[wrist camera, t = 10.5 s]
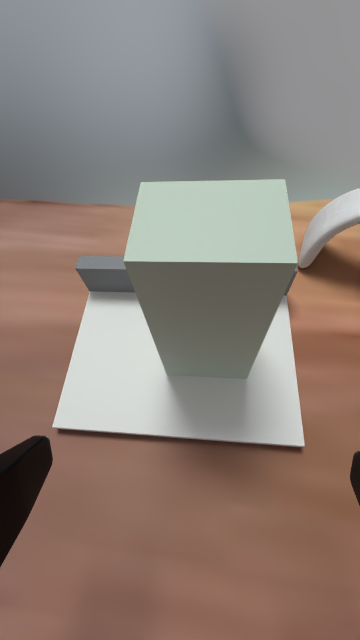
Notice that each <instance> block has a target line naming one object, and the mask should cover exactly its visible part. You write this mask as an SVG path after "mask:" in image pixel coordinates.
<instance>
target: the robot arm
mask: <svg viewBox="0 0 360 640" xmlns="http://www.w3.org/2000/svg"><path fill="white" fill-rule="evenodd" d="M52 461H53V457H52V451H51V446H50V440H49V438H48V437H47V436H33V437H31V438H29V439H27V440H25V441H23V442H22V443H20V444H18V445H16V446H14V447H13V448H11V449H9V450H7V451H5V452H3V453H2V454H0V567H1V565H2V563H3V561H4V560H5V558H6V556H7V554H8V553H9V551H10V549H11V547H12V545H13V544H14V542H15V540H16V538H17V536H18V535H19V533H20V531H21V529H22V528H23V526H24V524H25V522H26V520H27V518H28V516H29V514H30V512H31V510H32V508H33V506H34V503H35V501H36V499H37V497H38V495H39V492H40V490H41V488H42V486H43V483H44V481H45V479H46V477H47V475H48V472H49V470H50V468H51V465H52ZM350 480H351V484H352V487H353V490H354V492H355V495H356V498H357V500H358V503H359V505H360V451H357V452H355V454H354V456H353V461H352V467H351V473H350Z"/></svg>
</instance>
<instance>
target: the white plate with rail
mask: <svg viewBox="0 0 360 640" xmlns="http://www.w3.org/2000/svg"><path fill="white" fill-rule="evenodd" d="M123 261H124V257H112V256H79V259H78V262H77V266H76V270H77V272H78V273H79V275H80V277H81V278H82V280H83V281H84V283H85V284H86V286H87V288H88V289H89V291H90V292H89V296H88V300H87V303H86V307H85V311H84V314H83V318H82V321H81V325H80V329H79V332H78V336H77V340H76V343H75V347H74V350H73V354H72V358H71V361H70V365H69V369H68V372H67V376H66V379H65V383H64V387H63V390H62V394H61V398H60V401H59V405H58V408H57V412H56V416H55V419H54V423H53V428H57V429H66V430H79V431H93V432H106V433H119V434H132V435H146V436H159V437H172V438H185V439H198V440H212V441H225V442H238V443H251V444H265V445H278V446H291V447H303V446H305V445H304V437H303V428H302V420H301V412H300V404H299V395H298V387H297V379H296V370H295V362H294V354H293V346H292V337H291V329H290V321H289V313H288V304H287V293H288V291H289V289H290V287H291V285H292V282H293V280H294V278H295V276H296V274H297V266H296V268H295V271H294V273H293V275H292V277H291V280H290V282H289V284H288V287H287V289H286V291H285V293H284V296H283V298H282V300H281V302H280V305H279V307H278V309H277V311H276V314H275V316H274V318H273V321H272V323H271V325H270V327H269V330H268V332H267V334H266V336H265V339H264V341H263V343H262V345H261V348H260V350H259V352H258V355H257V357H256V359H255V361H254V364H253V366H252V368H251V370H250V373H249V375H248V377H247V379H239V378H220V377H201V376H182V375H167V374H166V372H165V369H164V366H163V364H162V361H161V359H160V356H159V353H158V351H157V348H156V345H155V343H154V340H153V338H152V335H151V332H150V330H149V327H148V325H147V322H146V319H145V317H144V314H143V311H142V309H141V306H140V304H139V301H138V298H137V296H136V293H135V290H134V288H133V285H132V283H131V280H130V277H129V275H128V272H127V270H126V267H125V264H124V262H123Z"/></svg>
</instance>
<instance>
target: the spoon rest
mask: <svg viewBox="0 0 360 640" xmlns="http://www.w3.org/2000/svg"><path fill="white" fill-rule="evenodd" d="M357 224H360V188H358V189H356V190H353V191H350V192H348V193H346V194H344V195H342V196H340V197H338V198H336V199H334V200H333V201H331V202H330V203H328V204H327V205H326V206H325V207H323V208H322V209H321V210H320V211H319V212H318V213H317V214H316V215H315V217H314V218H313V219H312V221H311V222H310V224H309V226H308V227H307V230H306V233H305V236H304V240H303V243H302V247H301V252H300V256H299V261H298V264H299V267H300V268H306V267H308V266H309V265H310V264H311V263H312V262H313V261H314V259H315V258H316V257H317V255H318V254H319V252H320V251H321V249H322V248H323V247H324V245H325V244H326V243H327V242H328V241H329V240H330V239H331V238H333V237H334V236H335V235H336V234H338V233H340V232H341V231H343V230H345V229H347V228H349V227H351V226H354V225H357Z"/></svg>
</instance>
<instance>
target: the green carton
mask: <svg viewBox="0 0 360 640" xmlns="http://www.w3.org/2000/svg"><path fill="white" fill-rule="evenodd" d="M123 262H124V264H125V267H126V270H127V272H128V275H129V277H130V280H131V283H132V285H133V288H134V290H135V293H136V296H137V298H138V301H139V304H140V306H141V309H142V311H143V314H144V317H145V319H146V322H147V325H148V327H149V330H150V332H151V335H152V338H153V340H154V343H155V345H156V348H157V351H158V353H159V356H160V359H161V361H162V364H163V366H164V369H165V372H166V374H167V375H182V376H201V377H220V378H239V379H247V377H248V375H249V373H250V370H251V368H252V366H253V364H254V361H255V359H256V357H257V355H258V352H259V350H260V348H261V345H262V343H263V341H264V339H265V336H266V334H267V332H268V330H269V327H270V325H271V323H272V321H273V318H274V316H275V314H276V311H277V309H278V307H279V305H280V302H281V300H282V298H283V296H284V293H285V291H286V289H287V287H288V284H289V282H290V280H291V277H292V275H293V273H294V271H295V268H296V266H297V264H298V261H297V255H296V248H295V241H294V235H293V228H292V222H291V215H290V209H289V202H288V196H287V189H286V183H285V180H235V181H234V180H232V181H184V182H183V181H182V182H181V181H180V182H141V184H140V189H139V193H138V198H137V202H136V207H135V211H134V216H133V220H132V225H131V229H130V234H129V238H128V243H127V247H126V252H125V256H124V261H123Z"/></svg>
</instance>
